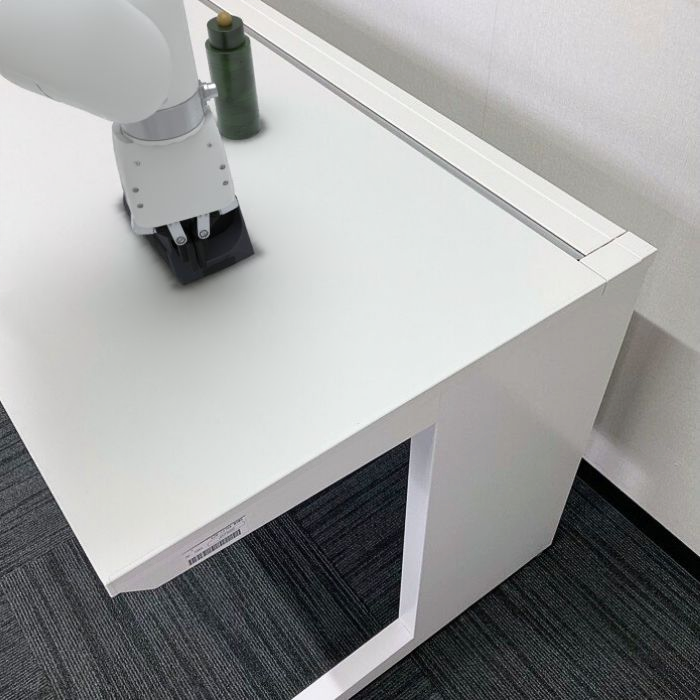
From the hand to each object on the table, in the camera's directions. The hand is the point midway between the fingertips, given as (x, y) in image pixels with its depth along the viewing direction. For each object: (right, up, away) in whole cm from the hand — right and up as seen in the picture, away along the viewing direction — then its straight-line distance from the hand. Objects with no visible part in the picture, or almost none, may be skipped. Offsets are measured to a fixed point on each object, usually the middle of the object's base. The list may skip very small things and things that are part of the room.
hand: (196, 262), depth 81 cm
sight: (-3, +5, +9) cm, 10 cm away
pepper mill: (+1, +21, +22) cm, 30 cm away
